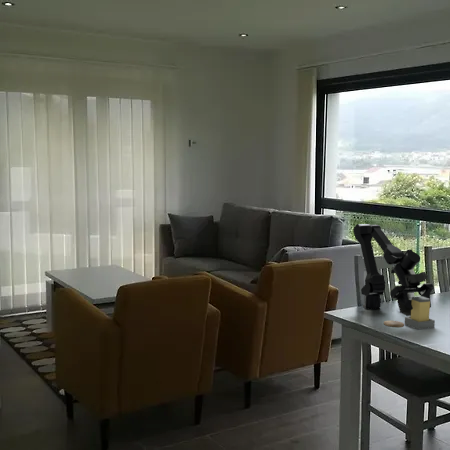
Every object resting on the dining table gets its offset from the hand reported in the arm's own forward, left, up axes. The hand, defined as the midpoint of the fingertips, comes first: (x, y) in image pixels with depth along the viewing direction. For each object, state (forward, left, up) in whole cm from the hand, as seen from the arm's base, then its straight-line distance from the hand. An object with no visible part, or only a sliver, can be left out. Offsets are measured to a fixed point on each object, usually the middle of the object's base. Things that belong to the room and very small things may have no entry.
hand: (421, 308), depth 244 cm
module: (0, 0, -7) cm, 7 cm away
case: (-2, +4, -8) cm, 9 cm away
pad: (-10, +2, -8) cm, 13 cm away
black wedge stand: (+4, +21, -8) cm, 23 cm away
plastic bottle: (+5, +32, -8) cm, 33 cm away
